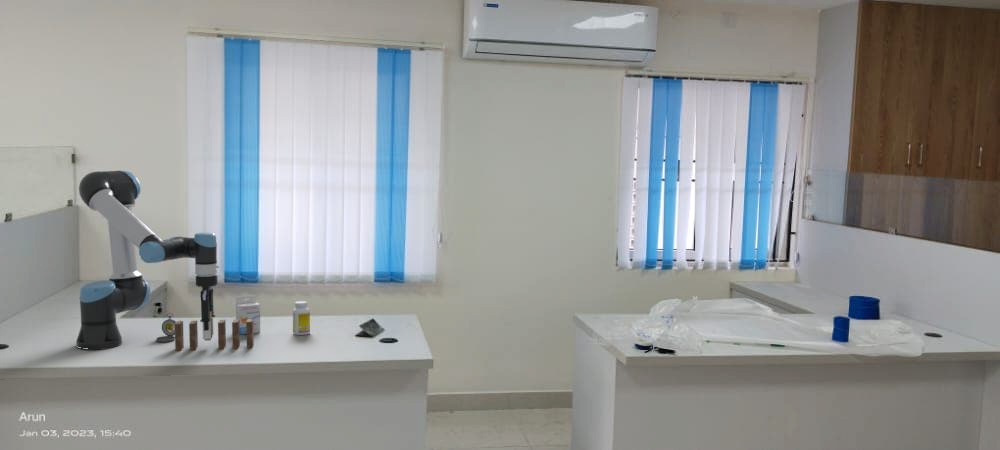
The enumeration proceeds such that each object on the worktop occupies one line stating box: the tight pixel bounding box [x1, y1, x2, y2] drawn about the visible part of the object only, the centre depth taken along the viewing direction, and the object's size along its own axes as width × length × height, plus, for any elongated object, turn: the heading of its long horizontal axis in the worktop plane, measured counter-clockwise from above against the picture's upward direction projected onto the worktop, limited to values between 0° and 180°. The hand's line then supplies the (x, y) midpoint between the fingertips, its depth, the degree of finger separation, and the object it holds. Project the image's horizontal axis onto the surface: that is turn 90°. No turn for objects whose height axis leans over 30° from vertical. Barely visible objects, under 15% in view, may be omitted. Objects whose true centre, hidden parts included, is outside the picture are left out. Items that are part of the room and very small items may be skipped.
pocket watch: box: [155, 312, 177, 343], centre depth 304 cm, size 8×8×10 cm
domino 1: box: [174, 320, 185, 352], centre depth 290 cm, size 2×5×10 cm, turn 12°
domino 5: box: [245, 319, 255, 349], centre depth 296 cm, size 2×5×10 cm, turn 12°
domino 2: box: [188, 320, 199, 351], centre depth 292 cm, size 2×5×10 cm, turn 12°
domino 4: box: [231, 318, 241, 350], centre depth 295 cm, size 2×5×10 cm, turn 12°
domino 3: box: [217, 319, 227, 350], centre depth 294 cm, size 2×5×10 cm, turn 12°
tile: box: [204, 311, 213, 341], centre depth 292 cm, size 2×5×10 cm, turn 12°
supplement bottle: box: [292, 300, 311, 336], centre depth 317 cm, size 7×7×13 cm
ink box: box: [235, 294, 261, 335], centre depth 317 cm, size 8×5×15 cm, turn 123°
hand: (208, 336), depth 293 cm, fingers closed on tile, 5 cm apart
